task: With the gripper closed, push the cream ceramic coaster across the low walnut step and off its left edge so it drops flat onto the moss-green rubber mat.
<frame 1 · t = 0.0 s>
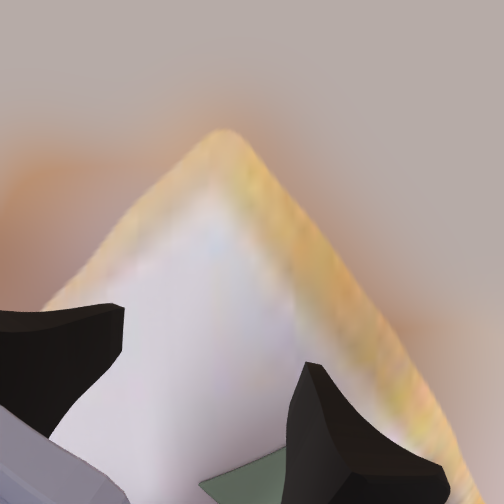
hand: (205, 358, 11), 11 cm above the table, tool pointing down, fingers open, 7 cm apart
rubber mat: (301, 495, 21), on the table
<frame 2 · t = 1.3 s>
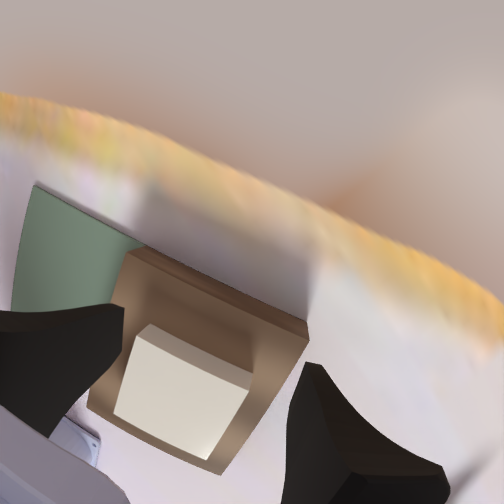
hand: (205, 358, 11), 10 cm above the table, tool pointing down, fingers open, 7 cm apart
coaster: (182, 389, 19), point 3 cm above the table, touching walnut step
rubber mat: (62, 291, 22), on the table
walnut step: (188, 365, 22), on the table
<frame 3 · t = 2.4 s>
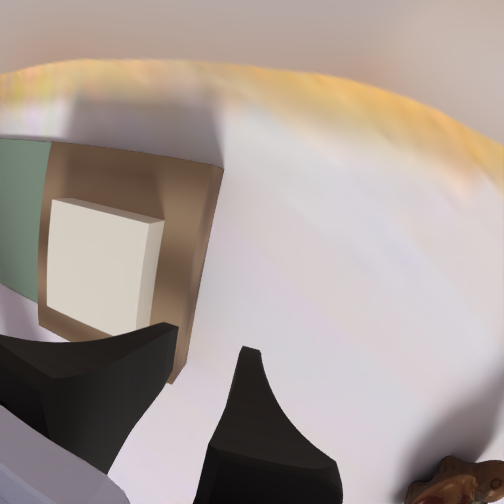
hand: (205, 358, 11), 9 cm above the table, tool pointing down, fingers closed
decorative turtle: (436, 477, 22), on the table
coaster: (106, 263, 18), point 3 cm above the table, touching walnut step
rubber mat: (19, 219, 22), on the table
walnut step: (123, 252, 21), on the table
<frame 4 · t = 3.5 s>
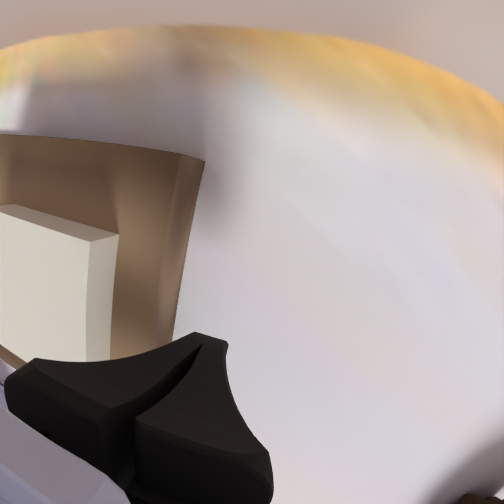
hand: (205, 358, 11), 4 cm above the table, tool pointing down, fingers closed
coaster: (54, 289, 13), point 3 cm above the table, touching walnut step
walnut step: (81, 272, 16), on the table
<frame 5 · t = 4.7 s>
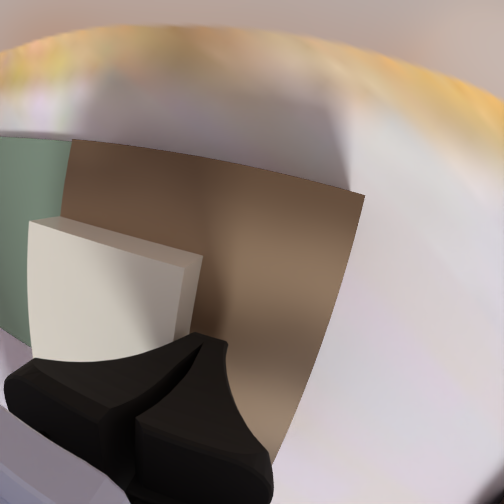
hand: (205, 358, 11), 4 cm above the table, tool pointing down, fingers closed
decorative turtle: (496, 503, 16), on the table
coaster: (113, 313, 12), point 3 cm above the table, touching walnut step
rubber mat: (23, 249, 16), on the table
walnut step: (189, 308, 15), on the table
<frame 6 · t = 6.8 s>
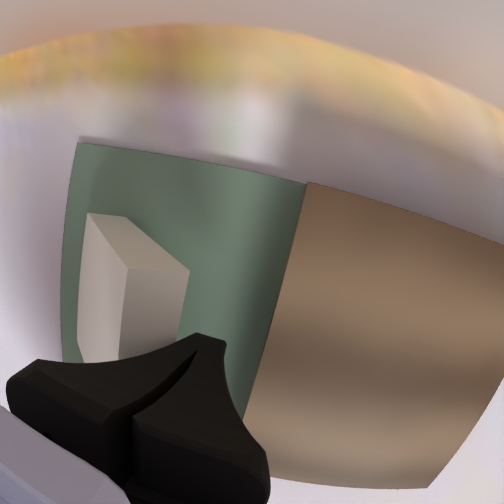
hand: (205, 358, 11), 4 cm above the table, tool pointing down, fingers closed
coaster: (137, 316, 13), point 3 cm above the table, tilted 43°, touching gripper, rubber mat
rubber mat: (152, 297, 15), on the table
walnut step: (382, 356, 14), on the table
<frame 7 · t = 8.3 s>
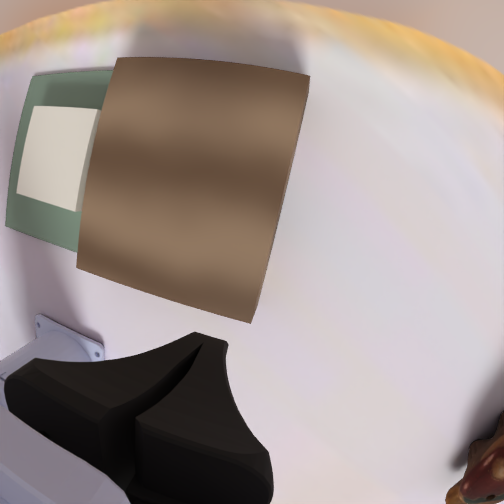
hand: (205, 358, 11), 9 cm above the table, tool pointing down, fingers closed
decorative turtle: (493, 436, 20), on the table
coaster: (67, 155, 20), resting on rubber mat
rubber mat: (57, 155, 21), on the table
walnut step: (191, 178, 20), on the table
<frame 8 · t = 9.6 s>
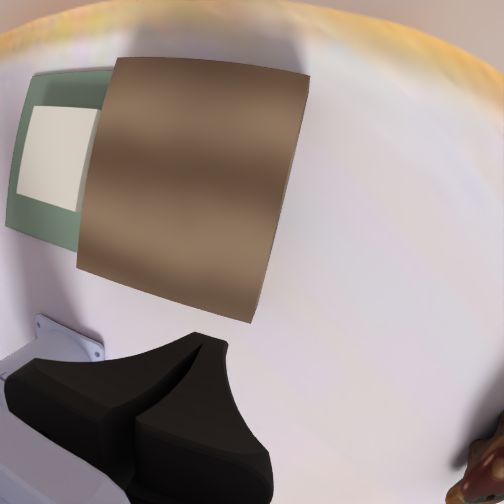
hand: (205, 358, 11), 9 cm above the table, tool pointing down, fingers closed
decorative turtle: (493, 436, 20), on the table
coaster: (67, 155, 20), resting on rubber mat
rubber mat: (57, 155, 21), on the table
walnut step: (191, 178, 20), on the table
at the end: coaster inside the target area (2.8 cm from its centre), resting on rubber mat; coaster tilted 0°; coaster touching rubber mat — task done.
